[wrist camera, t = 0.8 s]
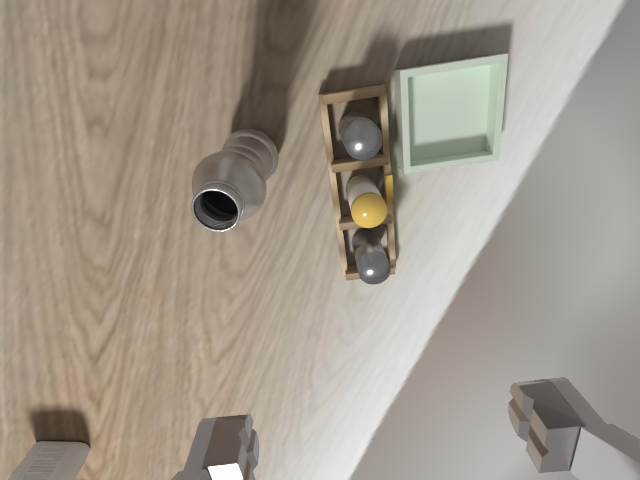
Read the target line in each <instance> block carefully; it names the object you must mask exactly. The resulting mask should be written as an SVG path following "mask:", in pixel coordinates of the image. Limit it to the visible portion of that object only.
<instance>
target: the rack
mask: <svg viewBox="0 0 640 480" xmlns="http://www.w3.org/2000/svg"><path fill="white" fill-rule="evenodd" d="M318 96H319V103H320V111H321V118H322V125H323V133H324V140H325V147H326V155H327V162H328V170H329V177H330V184H331V192H332V199H333V206H334V214H335V221H336V229H337V236H338V243H339V251H340V258H341V266H342V273H343V277H346V280H354V279H361V278H360V276H359V273H358V269H357V264H353V265H347V260H346V252H345V244H344V236H343V230H349V229H357V228H364V227H361V226H359V225H357V224H356V223H355V222H354V220H353V218H352V215H346V216H341V213H340V205H339V197H338V189H337V181H336V172H343V171H350V170H356V169H363V168H370V167H377V166H382V169H383V185H384V200H385V203H386V205H387V215H386V218H385V219H384V221H383V222H382V223H381V224H379V225H385V224H386V231H387V246H388V262H389V264H390V267H391V271H390V275H391V274H395V270H396V256H395V237H394V219H393V205H394V195H393V176H392V174H391V164H390V145H389V127H388V108H387V90H386V85H385V84H381V85H374V86H368V87H362V88H355V89H349V90H343V91H336V92H330V93H324V94H318ZM371 97H378V108H379V123H380V131H381V133H382V146H381V153H377V154H376V155H375V156H373V157H372V158H370V159H367V160H357V159H355V158H353V157H348V158H341V159H334V158H333V150H332V142H331V134H330V126H329V118H328V110H327V104H333V103H339V102H346V101H352V100H358V99H365V98H371Z"/></svg>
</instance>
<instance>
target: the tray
mask: <svg viewBox="0 0 640 480" xmlns="http://www.w3.org/2000/svg"><path fill="white" fill-rule="evenodd" d="M507 63H508V54H493V55H487V56H480V57H474V58H468V59H461V60H455V61H449V62H443V63H436V64H430V65H424V66H417V67H411V68H405V69H398V70H394V76H395V98H396V121H397V144H398V167H399V169H400V170H401V171H402V172H403V173H404V174H408V173H415V172H421V171H428V170H435V169H442V168H449V167H456V166H462V165H469V164H476V163H483V162H490V161H496V160H499V156H500V145H501V133H502V121H503V110H504V98H505V86H506V75H507Z"/></svg>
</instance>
